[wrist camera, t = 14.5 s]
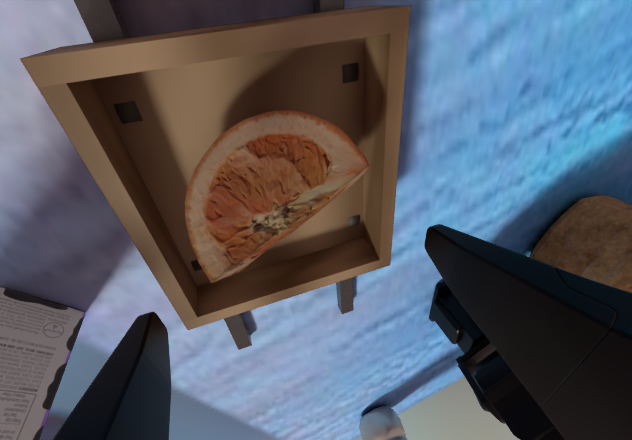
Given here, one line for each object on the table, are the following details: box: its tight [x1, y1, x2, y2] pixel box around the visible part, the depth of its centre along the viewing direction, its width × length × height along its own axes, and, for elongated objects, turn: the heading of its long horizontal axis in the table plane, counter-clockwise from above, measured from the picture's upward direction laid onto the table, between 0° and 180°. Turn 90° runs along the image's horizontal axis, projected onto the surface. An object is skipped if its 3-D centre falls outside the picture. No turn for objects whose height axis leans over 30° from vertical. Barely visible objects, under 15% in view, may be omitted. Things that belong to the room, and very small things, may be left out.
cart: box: [20, 6, 410, 330], centre depth 16 cm, size 13×14×4 cm
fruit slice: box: [185, 110, 370, 283], centre depth 14 cm, size 8×7×5 cm
